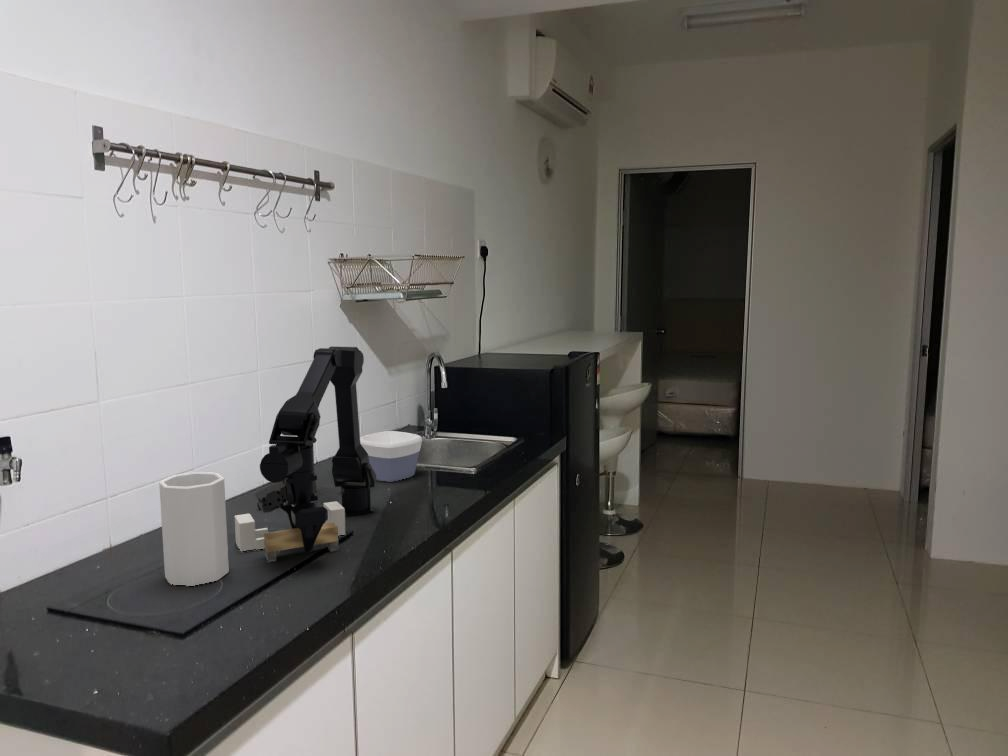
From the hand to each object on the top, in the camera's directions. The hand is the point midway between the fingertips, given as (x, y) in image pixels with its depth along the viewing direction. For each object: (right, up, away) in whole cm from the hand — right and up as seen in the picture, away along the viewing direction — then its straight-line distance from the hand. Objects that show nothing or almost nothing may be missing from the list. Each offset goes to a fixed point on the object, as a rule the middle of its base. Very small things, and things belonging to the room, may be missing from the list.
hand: (302, 544), depth 154 cm
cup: (-17, -4, -11) cm, 20 cm away
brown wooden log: (-13, +3, +36) cm, 39 cm away
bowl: (+9, +6, +59) cm, 60 cm away
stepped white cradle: (-4, -1, +9) cm, 10 cm away
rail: (0, -2, 0) cm, 2 cm away
